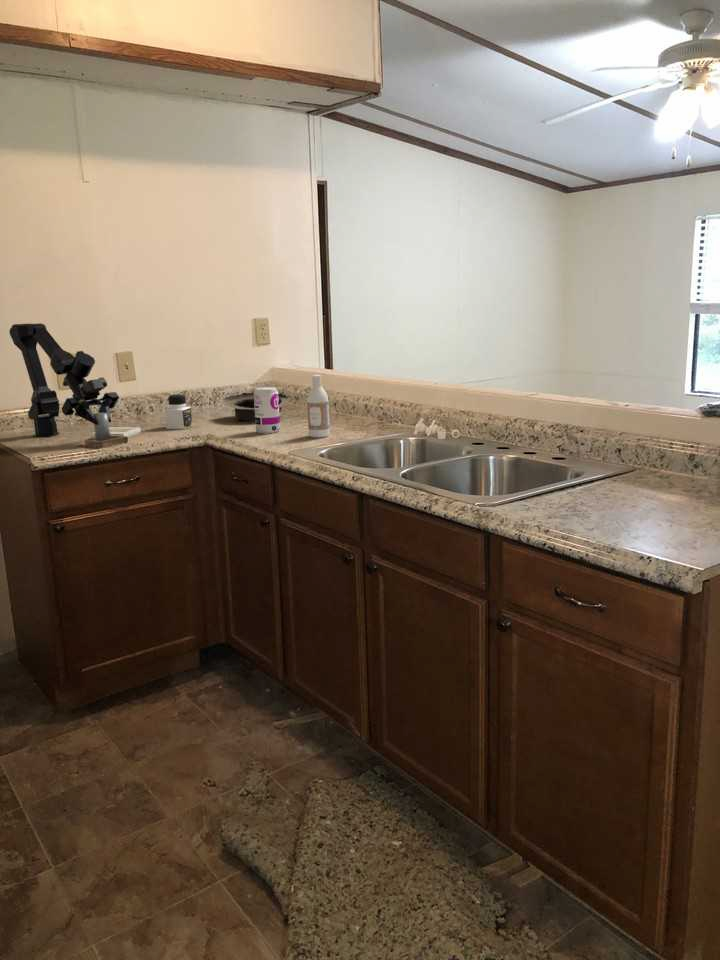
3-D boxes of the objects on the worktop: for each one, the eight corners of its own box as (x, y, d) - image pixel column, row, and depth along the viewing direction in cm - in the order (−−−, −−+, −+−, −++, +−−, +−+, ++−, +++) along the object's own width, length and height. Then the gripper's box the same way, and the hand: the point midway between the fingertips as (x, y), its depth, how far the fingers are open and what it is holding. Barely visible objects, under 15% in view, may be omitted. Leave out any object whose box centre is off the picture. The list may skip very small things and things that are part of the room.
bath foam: (305, 437, 255) (302, 376, 251) (313, 433, 262) (310, 374, 257) (325, 438, 253) (323, 376, 249) (332, 434, 260) (330, 374, 255)
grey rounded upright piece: (91, 445, 252) (87, 414, 250) (100, 442, 258) (97, 412, 255) (107, 445, 251) (103, 414, 249) (115, 442, 256) (112, 412, 254)
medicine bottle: (184, 429, 278) (181, 395, 275) (165, 429, 280) (163, 395, 277) (192, 426, 285) (190, 393, 282) (174, 426, 286) (171, 393, 284)
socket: (85, 446, 251) (84, 440, 251) (114, 440, 260) (113, 434, 259) (99, 448, 247) (98, 442, 246) (128, 442, 255) (127, 436, 255)
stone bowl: (255, 411, 315) (255, 388, 312) (303, 420, 301) (304, 397, 298) (210, 419, 295) (210, 395, 293) (259, 429, 281) (259, 404, 279)
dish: (91, 439, 264) (90, 433, 263) (109, 432, 275) (108, 427, 275) (124, 439, 261) (123, 433, 261) (140, 433, 273) (140, 427, 272)
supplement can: (284, 430, 270) (282, 387, 267) (272, 434, 263) (269, 390, 260) (264, 429, 274) (261, 386, 270) (251, 433, 266) (248, 389, 263)
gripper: (62, 373, 244) (87, 410, 240) (112, 367, 258) (137, 402, 254) (51, 396, 250) (75, 433, 246) (100, 390, 265) (124, 424, 261)
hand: (103, 422), depth 252 cm, fingers closed on grey rounded upright piece, 5 cm apart
